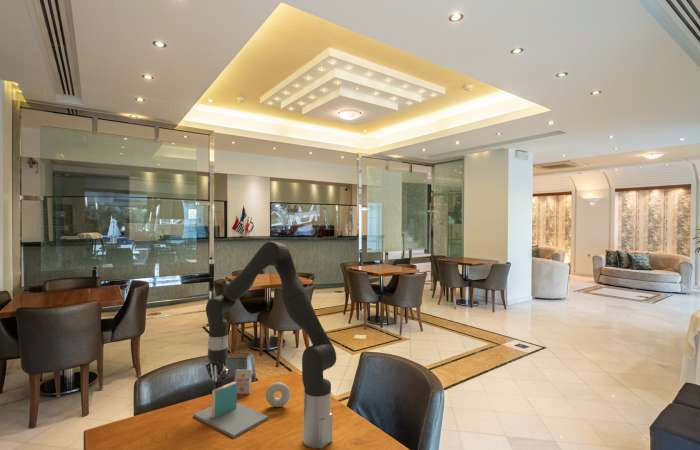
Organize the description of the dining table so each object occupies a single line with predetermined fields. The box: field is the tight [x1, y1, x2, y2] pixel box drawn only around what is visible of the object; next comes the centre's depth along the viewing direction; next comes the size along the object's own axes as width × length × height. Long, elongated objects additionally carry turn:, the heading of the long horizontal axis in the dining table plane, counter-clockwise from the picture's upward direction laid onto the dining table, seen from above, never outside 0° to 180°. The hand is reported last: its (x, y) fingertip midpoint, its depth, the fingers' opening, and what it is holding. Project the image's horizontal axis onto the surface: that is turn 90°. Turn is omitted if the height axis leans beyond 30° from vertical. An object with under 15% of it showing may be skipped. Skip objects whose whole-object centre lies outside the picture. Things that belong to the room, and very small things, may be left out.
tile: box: [211, 381, 238, 418], centre depth 143 cm, size 2×10×10 cm, turn 146°
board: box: [193, 402, 269, 439], centre depth 140 cm, size 24×16×1 cm, turn 56°
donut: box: [265, 381, 291, 408], centre depth 150 cm, size 10×4×10 cm, turn 91°
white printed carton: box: [233, 369, 252, 395], centre depth 162 cm, size 4×7×10 cm, turn 92°
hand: (217, 389), depth 145 cm, fingers closed
